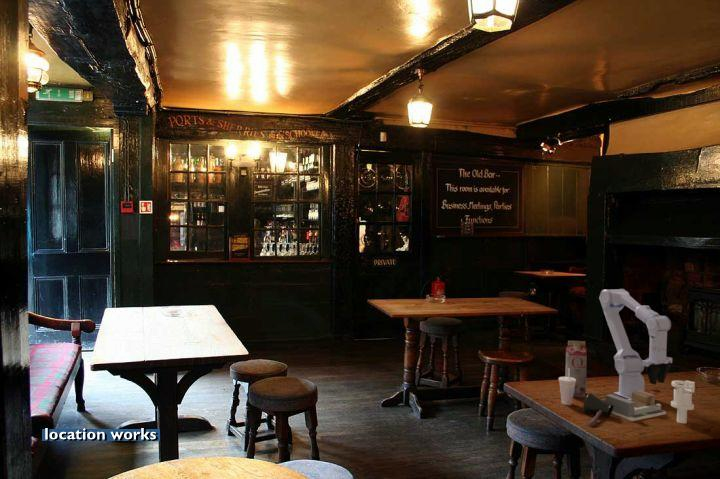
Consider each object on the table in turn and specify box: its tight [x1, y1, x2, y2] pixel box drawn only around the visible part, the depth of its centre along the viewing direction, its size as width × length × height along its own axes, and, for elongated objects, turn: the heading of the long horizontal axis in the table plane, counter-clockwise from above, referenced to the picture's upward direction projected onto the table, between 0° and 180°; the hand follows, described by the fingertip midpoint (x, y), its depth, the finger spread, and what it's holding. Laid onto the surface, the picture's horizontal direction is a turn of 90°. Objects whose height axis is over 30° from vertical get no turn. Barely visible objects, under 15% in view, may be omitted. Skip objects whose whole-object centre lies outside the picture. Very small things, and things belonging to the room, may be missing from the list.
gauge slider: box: [631, 391, 659, 408], centre depth 204 cm, size 5×9×5 cm, turn 25°
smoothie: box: [558, 368, 576, 406], centre depth 211 cm, size 6×6×14 cm
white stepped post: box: [670, 380, 696, 425], centre depth 193 cm, size 7×7×15 cm
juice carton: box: [564, 340, 588, 398], centre depth 223 cm, size 7×7×22 cm
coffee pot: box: [582, 392, 613, 428], centre depth 196 cm, size 8×18×8 cm
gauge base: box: [604, 393, 667, 422], centre depth 203 cm, size 18×13×6 cm
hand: (656, 383), depth 208 cm, fingers open, 4 cm apart
